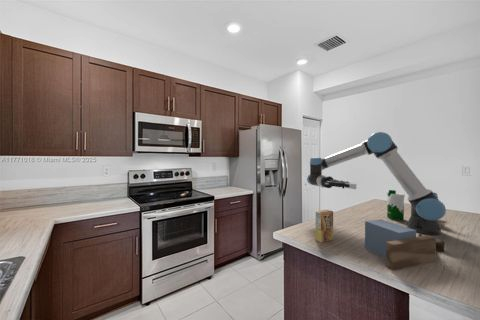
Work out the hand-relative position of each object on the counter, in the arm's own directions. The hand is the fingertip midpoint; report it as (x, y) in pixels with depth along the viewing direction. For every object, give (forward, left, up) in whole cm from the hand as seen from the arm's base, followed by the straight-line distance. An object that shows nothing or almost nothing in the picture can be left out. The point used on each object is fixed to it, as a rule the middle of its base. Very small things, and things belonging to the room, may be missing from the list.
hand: (355, 186), depth 113 cm
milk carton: (-38, -43, -28) cm, 64 cm away
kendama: (-29, +9, -28) cm, 42 cm away
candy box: (+17, +7, -28) cm, 33 cm away
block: (-9, +17, -28) cm, 34 cm away
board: (-14, +25, -28) cm, 40 cm away
